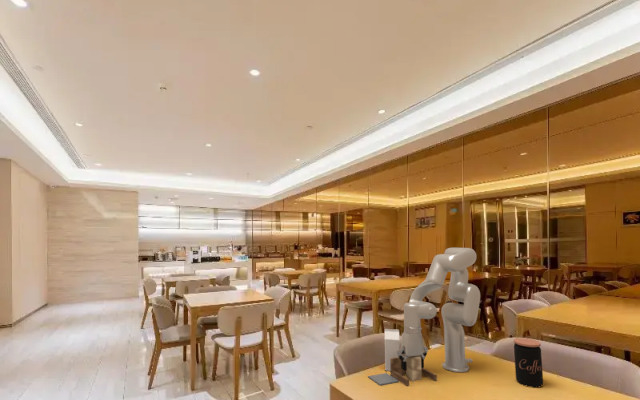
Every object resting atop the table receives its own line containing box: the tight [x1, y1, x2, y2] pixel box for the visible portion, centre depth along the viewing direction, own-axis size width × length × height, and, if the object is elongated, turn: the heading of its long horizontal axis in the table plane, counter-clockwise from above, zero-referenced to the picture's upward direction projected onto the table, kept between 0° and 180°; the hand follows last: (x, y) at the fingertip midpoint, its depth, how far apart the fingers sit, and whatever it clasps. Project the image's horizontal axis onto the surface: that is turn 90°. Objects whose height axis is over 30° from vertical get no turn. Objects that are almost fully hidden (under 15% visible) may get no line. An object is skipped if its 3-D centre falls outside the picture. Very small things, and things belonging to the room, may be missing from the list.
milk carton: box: [384, 328, 401, 372], centre depth 174 cm, size 7×7×19 cm
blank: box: [405, 356, 423, 382], centre depth 161 cm, size 5×5×10 cm
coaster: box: [367, 372, 400, 386], centre depth 159 cm, size 10×10×1 cm
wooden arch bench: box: [390, 356, 438, 387], centre depth 161 cm, size 16×13×8 cm
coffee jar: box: [513, 337, 544, 388], centre depth 157 cm, size 11×11×18 cm
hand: (412, 368), depth 161 cm, fingers open, 9 cm apart
